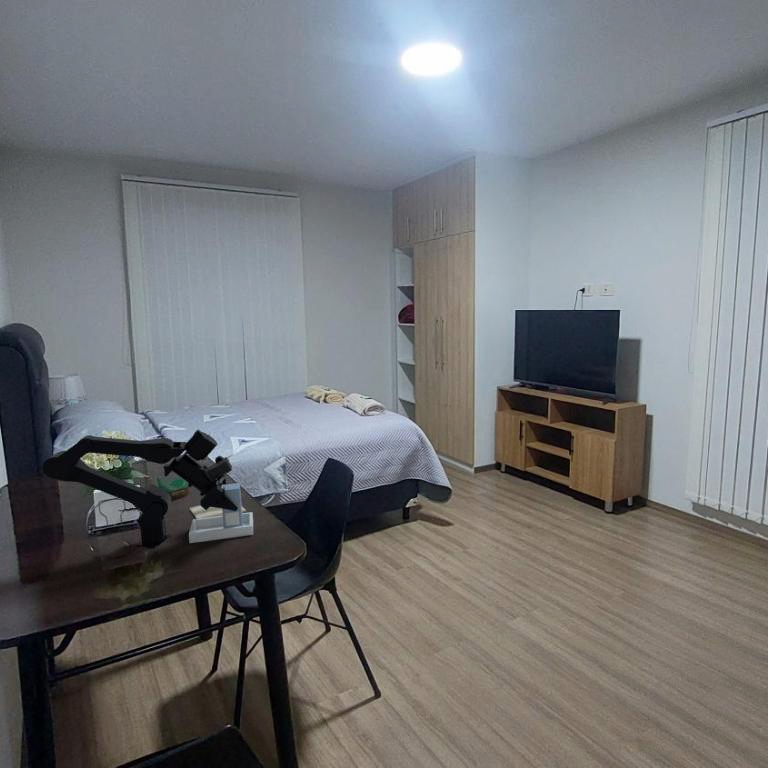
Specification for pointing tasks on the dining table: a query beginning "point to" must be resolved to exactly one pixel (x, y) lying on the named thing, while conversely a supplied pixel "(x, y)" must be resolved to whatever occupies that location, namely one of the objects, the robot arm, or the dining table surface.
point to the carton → (234, 495)
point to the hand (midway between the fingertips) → (237, 506)
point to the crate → (219, 528)
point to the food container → (173, 485)
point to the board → (208, 512)
